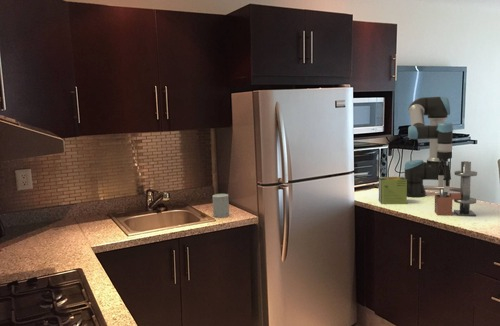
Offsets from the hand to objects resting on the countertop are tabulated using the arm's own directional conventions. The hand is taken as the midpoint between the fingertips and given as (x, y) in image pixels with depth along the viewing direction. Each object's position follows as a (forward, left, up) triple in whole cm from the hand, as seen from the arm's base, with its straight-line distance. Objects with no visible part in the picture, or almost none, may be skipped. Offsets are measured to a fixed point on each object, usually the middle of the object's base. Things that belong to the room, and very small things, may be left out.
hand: (443, 189), depth 235 cm
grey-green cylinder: (+12, -125, -14) cm, 126 cm away
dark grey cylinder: (0, 0, -14) cm, 14 cm away
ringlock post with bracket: (0, +6, -14) cm, 15 cm away
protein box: (-27, -24, -14) cm, 39 cm away
